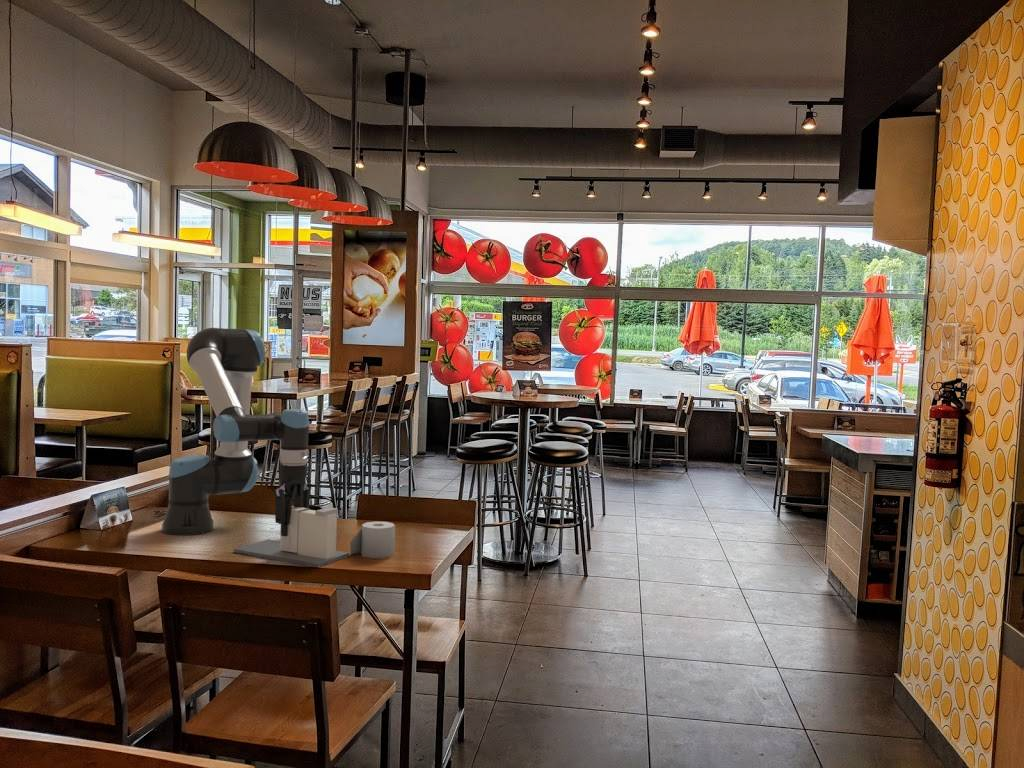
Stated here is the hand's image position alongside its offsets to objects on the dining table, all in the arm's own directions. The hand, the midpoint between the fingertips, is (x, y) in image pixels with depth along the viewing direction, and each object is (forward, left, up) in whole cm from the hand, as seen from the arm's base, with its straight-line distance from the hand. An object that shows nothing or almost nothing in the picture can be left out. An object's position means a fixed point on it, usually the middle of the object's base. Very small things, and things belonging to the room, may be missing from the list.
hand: (291, 545), depth 220 cm
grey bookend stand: (0, 0, -3) cm, 3 cm away
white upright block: (+1, 0, -1) cm, 1 cm away
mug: (-9, +19, -3) cm, 21 cm away
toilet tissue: (+19, +12, -3) cm, 23 cm away
